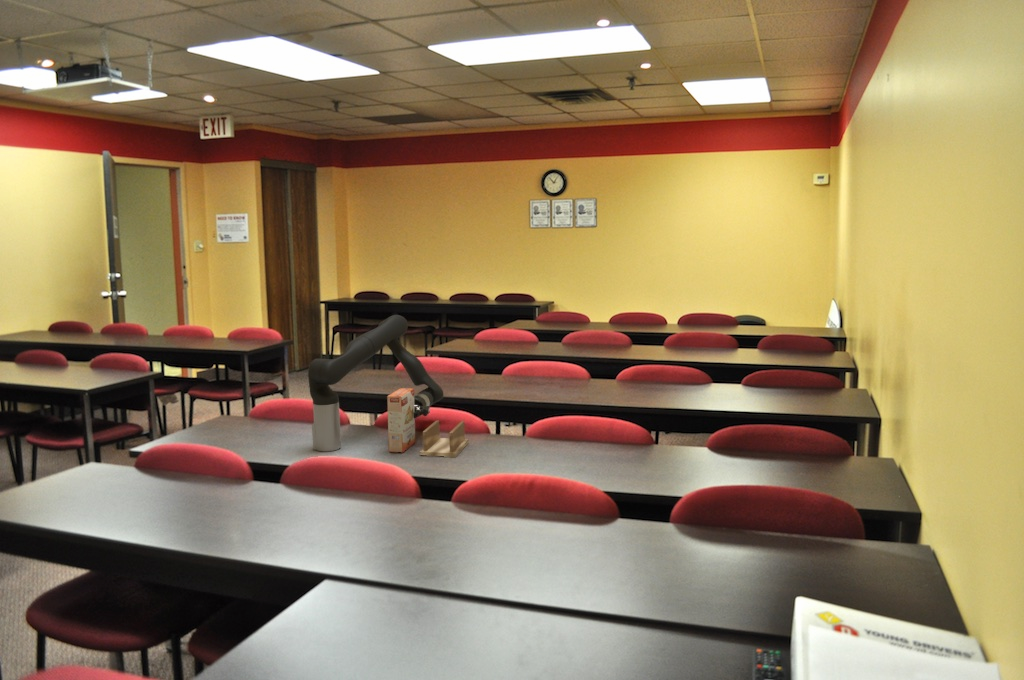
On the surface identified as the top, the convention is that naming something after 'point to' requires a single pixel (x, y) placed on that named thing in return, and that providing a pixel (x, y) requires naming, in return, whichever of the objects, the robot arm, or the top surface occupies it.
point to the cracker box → (401, 420)
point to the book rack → (443, 441)
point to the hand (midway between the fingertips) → (403, 415)
